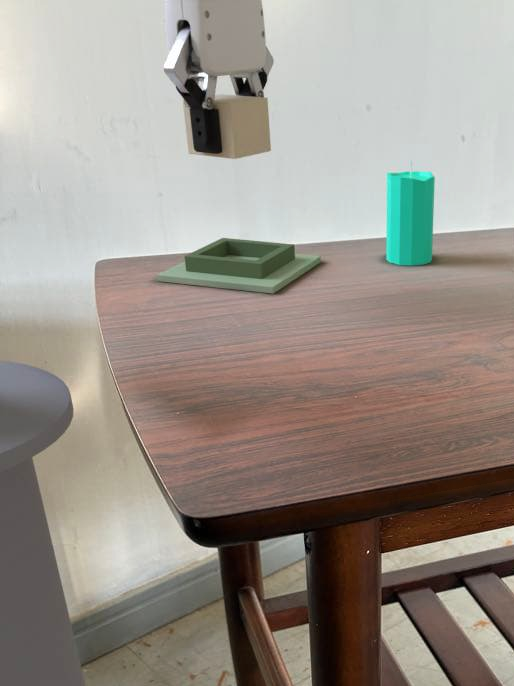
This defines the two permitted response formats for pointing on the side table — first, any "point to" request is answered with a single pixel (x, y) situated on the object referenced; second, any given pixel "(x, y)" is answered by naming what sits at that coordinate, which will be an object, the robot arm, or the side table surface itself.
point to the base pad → (241, 266)
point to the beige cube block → (237, 126)
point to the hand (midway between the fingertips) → (229, 146)
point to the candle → (410, 217)
